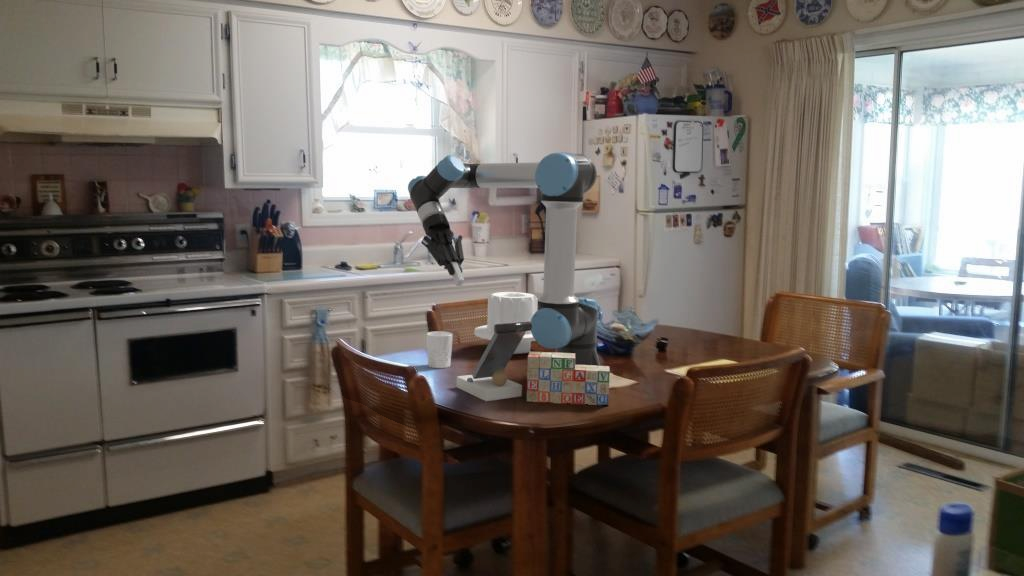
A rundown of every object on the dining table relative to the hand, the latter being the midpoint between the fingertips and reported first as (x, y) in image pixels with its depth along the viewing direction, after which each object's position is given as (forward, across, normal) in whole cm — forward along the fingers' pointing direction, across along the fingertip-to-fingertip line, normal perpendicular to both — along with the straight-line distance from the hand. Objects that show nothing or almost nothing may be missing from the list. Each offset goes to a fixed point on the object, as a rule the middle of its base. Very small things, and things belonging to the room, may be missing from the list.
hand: (460, 282), depth 233 cm
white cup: (+9, -2, -31) cm, 32 cm away
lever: (+27, 0, -6) cm, 28 cm away
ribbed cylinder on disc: (+2, -34, -37) cm, 50 cm away
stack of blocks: (+44, -14, +4) cm, 46 cm away
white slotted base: (+31, 0, -8) cm, 32 cm away
